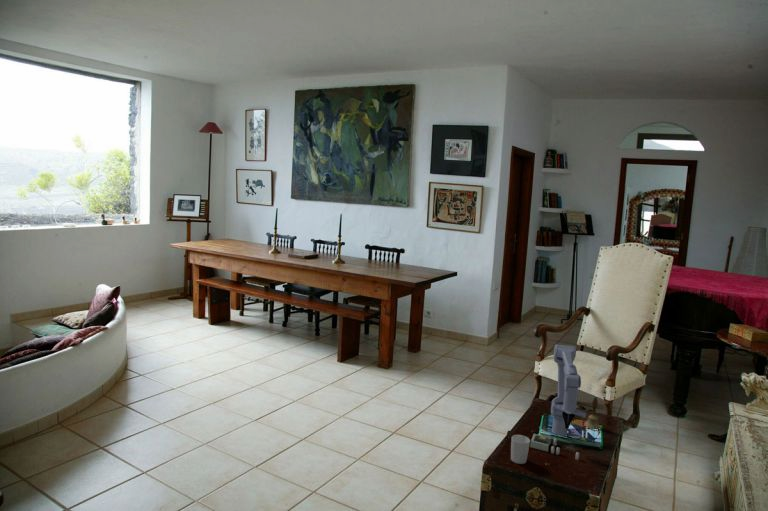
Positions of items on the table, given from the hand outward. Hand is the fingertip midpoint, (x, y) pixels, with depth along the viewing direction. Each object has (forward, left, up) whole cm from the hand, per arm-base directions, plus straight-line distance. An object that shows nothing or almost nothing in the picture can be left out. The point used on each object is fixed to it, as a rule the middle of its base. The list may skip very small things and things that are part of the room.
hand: (567, 428), depth 243 cm
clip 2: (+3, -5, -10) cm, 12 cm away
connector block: (+3, -10, -11) cm, 15 cm away
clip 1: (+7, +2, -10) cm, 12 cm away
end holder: (+3, -10, -10) cm, 15 cm away
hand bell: (-32, +10, -11) cm, 35 cm away
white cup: (+22, -17, -11) cm, 30 cm away
